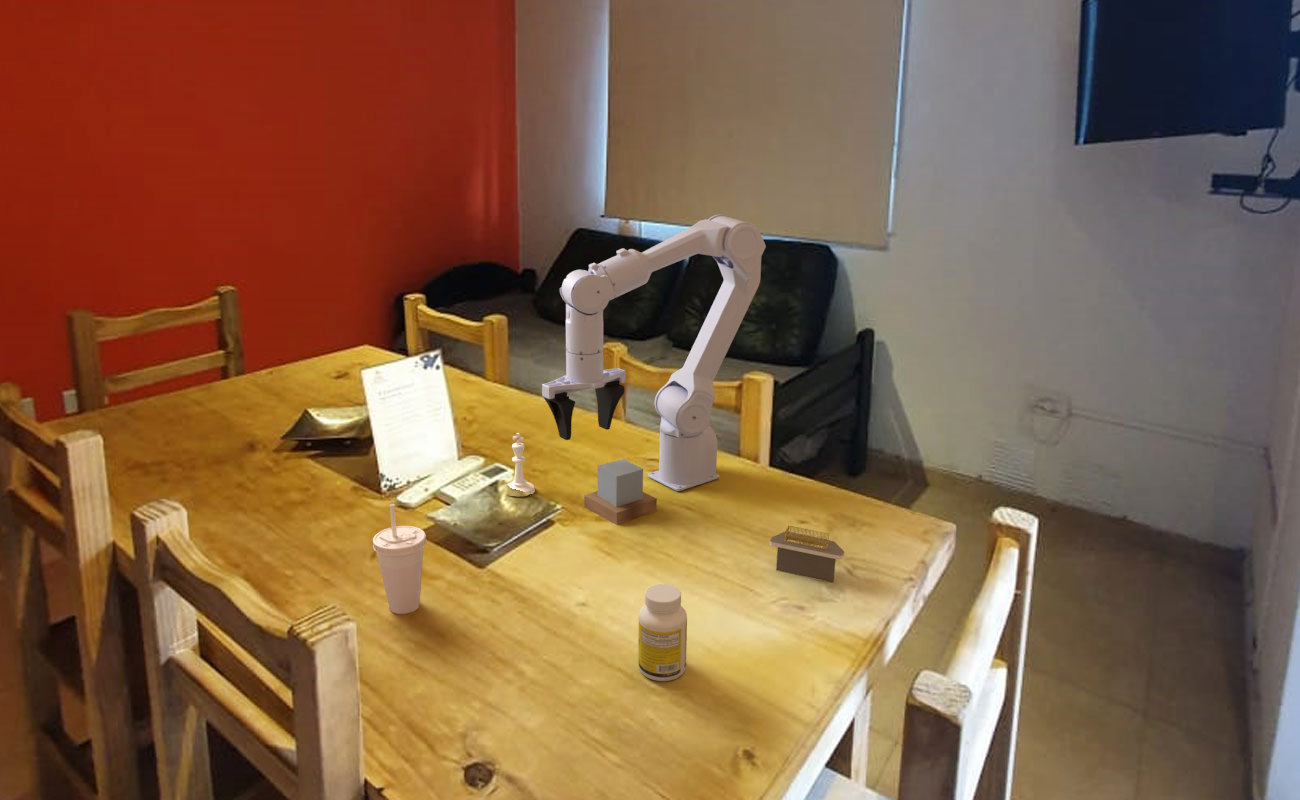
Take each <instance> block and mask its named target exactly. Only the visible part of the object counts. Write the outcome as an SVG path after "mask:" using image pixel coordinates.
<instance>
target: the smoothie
mask: <svg viewBox="0 0 1300 800" xmlns="http://www.w3.org/2000/svg"><path fill="white" fill-rule="evenodd" d="M395 505H396V504H395V503H390V504H389V510H390V524H391V527H388V528H385V529H381V530H380V531H379V532H378V533H376V534H375V535H374V536H373V539H372V549H373V551H374V552H376V556H377V562H378V564H379V570H380V573H381V576H382V577H381V578H382V582H383V587H384V591H385V594H386V600H387V604H388V609H389V611H390V612H392V613H393V614H396V615H406V614H410V613H414V612H415V611H416V610H417V609H419V607H420V605H421V592H422V576H423V575H422V574H423V564H424V563H423V561H424V560H423V559H424V547H425V546H426V545H427V543H428V542H427V540H428V539H427V536H426V532H425V531H424V530H423V529H421V528H419V527H417V526H412V525H398V526H397V519H396V518H397V517H396V506H395Z"/></svg>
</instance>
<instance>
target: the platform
mask: <svg viewBox="0 0 1300 800" xmlns="http://www.w3.org/2000/svg"><path fill="white" fill-rule="evenodd" d="M829 538H830V533H828V532H824V531H820V530H814V529H808V528H804V527H798V526H794V525H789V524H788V525H787V527H786V528H785V530H784V531H783V532H781V533H778V534H776V535H774V536H771V538H770V540H769V546H771V547H775V548H777V553H776V567H775V568H776V569H775V570H776V571H778V572H782V573H787V574H792V575H796V576H801V577H804V578H805V577H806V578H810V579H815V580H820V581H824V582H829V583H832V584H833V583H835V582H834V580H835V573H836V572H835V571H836V561H837V560H838V561H839V560H843V558H844V557H845V551H844V550H843V548H842V547H841V546H839V545H838V543H836V541H834V540H831V539H829Z"/></svg>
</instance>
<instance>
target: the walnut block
mask: <svg viewBox="0 0 1300 800" xmlns="http://www.w3.org/2000/svg"><path fill="white" fill-rule="evenodd" d="M583 502H584V504H583V505H584V508H585V509H587V510H589V512H593V513H595V514H596V515H597V516H600V517H602V518H603V519H605V520H607V521H609V522H611V523H613V524H614V525H616V526H618V525H621V524H623V523H627V522H629V521H631V520H634V519H637V518H640V517H643V516H645V515H649V514H651V513H654V512H657V510H658V509H657V505H658V498H656V497H654V496H653V495H651V494H649V493H647V492H644V491H643V499H641V500H638V501H634V502H631V503H628V504H624V505H621V506H618V507H615V506H614V505H612V504H611V503H609V502H607V501H606V500H604V499H602V498H601V497H599V496H598V490H596V491H592V492H591V493H588V494H585V495H583Z"/></svg>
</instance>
